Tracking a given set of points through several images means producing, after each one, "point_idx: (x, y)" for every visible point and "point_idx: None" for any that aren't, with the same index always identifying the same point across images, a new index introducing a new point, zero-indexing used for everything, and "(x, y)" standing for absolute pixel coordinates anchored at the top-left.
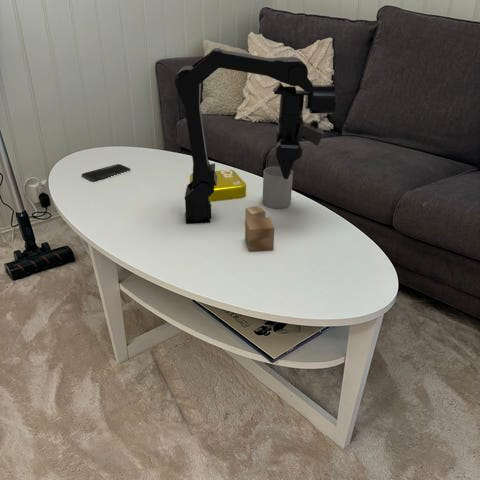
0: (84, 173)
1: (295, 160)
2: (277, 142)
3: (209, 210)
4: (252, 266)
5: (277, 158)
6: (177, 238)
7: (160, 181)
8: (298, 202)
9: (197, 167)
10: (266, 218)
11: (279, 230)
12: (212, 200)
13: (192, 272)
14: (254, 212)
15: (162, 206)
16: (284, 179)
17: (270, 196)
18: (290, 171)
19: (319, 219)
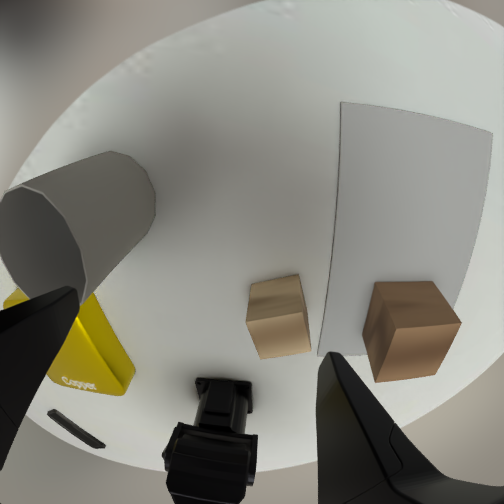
0: (89, 445)
1: (463, 482)
2: (3, 458)
3: (232, 402)
4: None
5: None
6: (305, 420)
7: (70, 395)
8: (103, 122)
9: None
10: (400, 337)
11: (323, 234)
12: (126, 357)
13: (421, 398)
14: (303, 343)
15: (168, 420)
16: (87, 232)
17: (129, 248)
18: (376, 400)
19: (253, 65)
